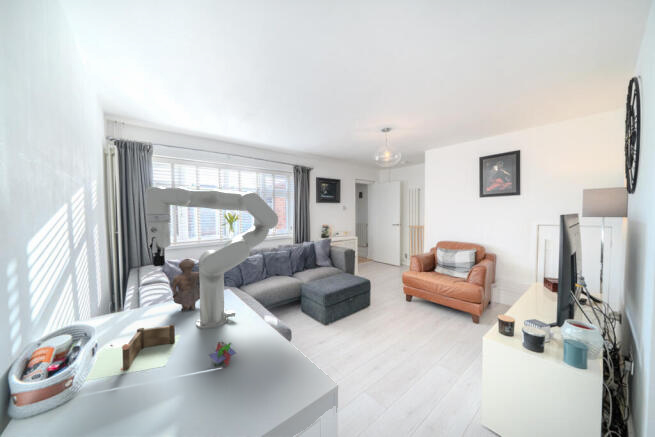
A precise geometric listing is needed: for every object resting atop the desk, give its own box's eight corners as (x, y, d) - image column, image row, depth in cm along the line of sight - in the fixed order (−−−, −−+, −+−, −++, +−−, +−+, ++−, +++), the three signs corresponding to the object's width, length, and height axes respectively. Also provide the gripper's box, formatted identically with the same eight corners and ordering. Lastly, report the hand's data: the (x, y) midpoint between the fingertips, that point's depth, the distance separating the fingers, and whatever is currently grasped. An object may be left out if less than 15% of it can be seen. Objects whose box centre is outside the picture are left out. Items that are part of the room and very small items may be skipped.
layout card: (181, 335, 92) (181, 334, 92) (164, 367, 73) (164, 366, 73) (107, 346, 85) (107, 344, 85) (67, 385, 66) (67, 383, 66)
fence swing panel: (136, 349, 81) (135, 328, 81) (142, 348, 82) (142, 327, 82) (121, 371, 70) (120, 346, 70) (128, 369, 71) (128, 345, 71)
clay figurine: (199, 302, 125) (199, 255, 124) (206, 308, 118) (205, 258, 117) (170, 310, 116) (169, 259, 115) (175, 316, 108) (174, 262, 108)
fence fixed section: (175, 341, 87) (175, 323, 87) (174, 344, 85) (173, 325, 85) (138, 347, 83) (138, 328, 83) (136, 350, 82) (135, 331, 81)
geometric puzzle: (243, 356, 75) (233, 333, 77) (224, 369, 69) (213, 343, 71) (231, 364, 78) (222, 341, 80) (212, 376, 72) (202, 351, 74)
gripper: (163, 219, 86) (164, 269, 87) (175, 218, 100) (175, 261, 101) (138, 219, 84) (139, 271, 84) (154, 218, 98) (155, 262, 98)
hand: (159, 265), depth 92 cm, fingers closed
